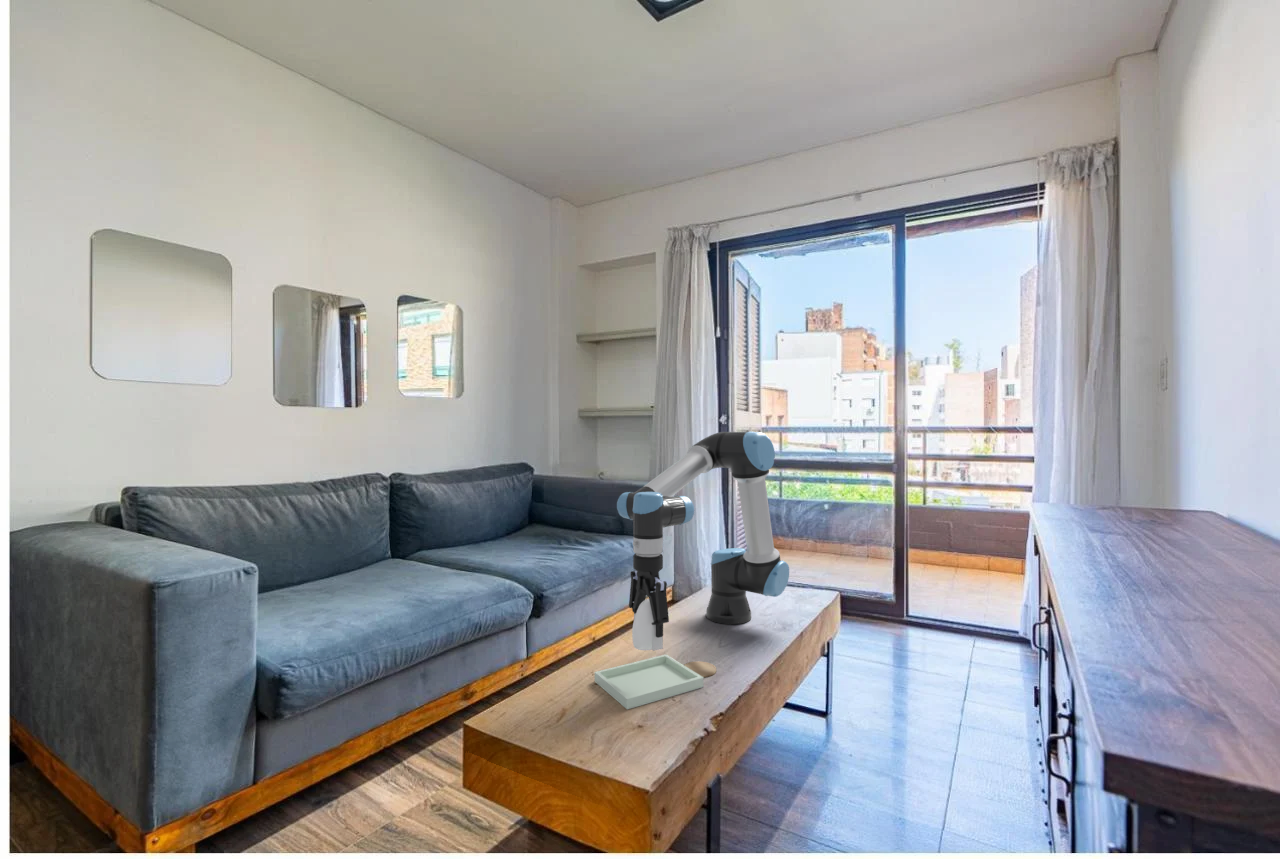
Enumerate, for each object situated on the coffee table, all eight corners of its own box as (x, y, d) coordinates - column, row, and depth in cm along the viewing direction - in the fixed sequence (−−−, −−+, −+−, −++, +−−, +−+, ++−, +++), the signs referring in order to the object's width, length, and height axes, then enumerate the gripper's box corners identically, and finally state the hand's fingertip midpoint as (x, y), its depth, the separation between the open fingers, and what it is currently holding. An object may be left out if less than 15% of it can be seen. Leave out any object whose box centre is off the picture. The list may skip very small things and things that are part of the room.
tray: (666, 662, 157) (666, 654, 157) (703, 686, 142) (703, 677, 142) (594, 681, 146) (594, 671, 146) (627, 709, 131) (627, 699, 131)
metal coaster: (696, 660, 159) (696, 658, 159) (723, 669, 152) (723, 668, 152) (675, 670, 152) (675, 668, 152) (702, 680, 146) (702, 678, 146)
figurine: (659, 652, 140) (659, 603, 140) (629, 650, 142) (629, 602, 142) (664, 641, 147) (664, 595, 147) (635, 639, 149) (635, 593, 148)
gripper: (615, 547, 151) (615, 633, 151) (657, 563, 133) (657, 661, 133) (639, 544, 155) (639, 628, 155) (683, 560, 137) (683, 654, 137)
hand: (648, 643), depth 144 cm, fingers closed on figurine, 8 cm apart
